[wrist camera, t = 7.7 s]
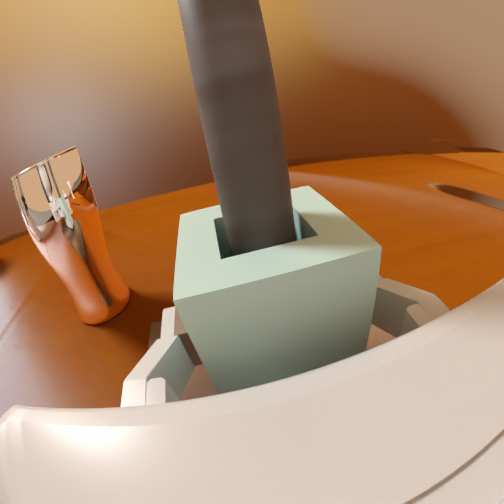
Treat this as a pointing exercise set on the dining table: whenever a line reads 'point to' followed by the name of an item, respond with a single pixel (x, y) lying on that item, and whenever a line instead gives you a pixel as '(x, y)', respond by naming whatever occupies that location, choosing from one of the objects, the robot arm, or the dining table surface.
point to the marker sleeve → (276, 294)
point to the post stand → (240, 137)
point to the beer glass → (71, 233)
